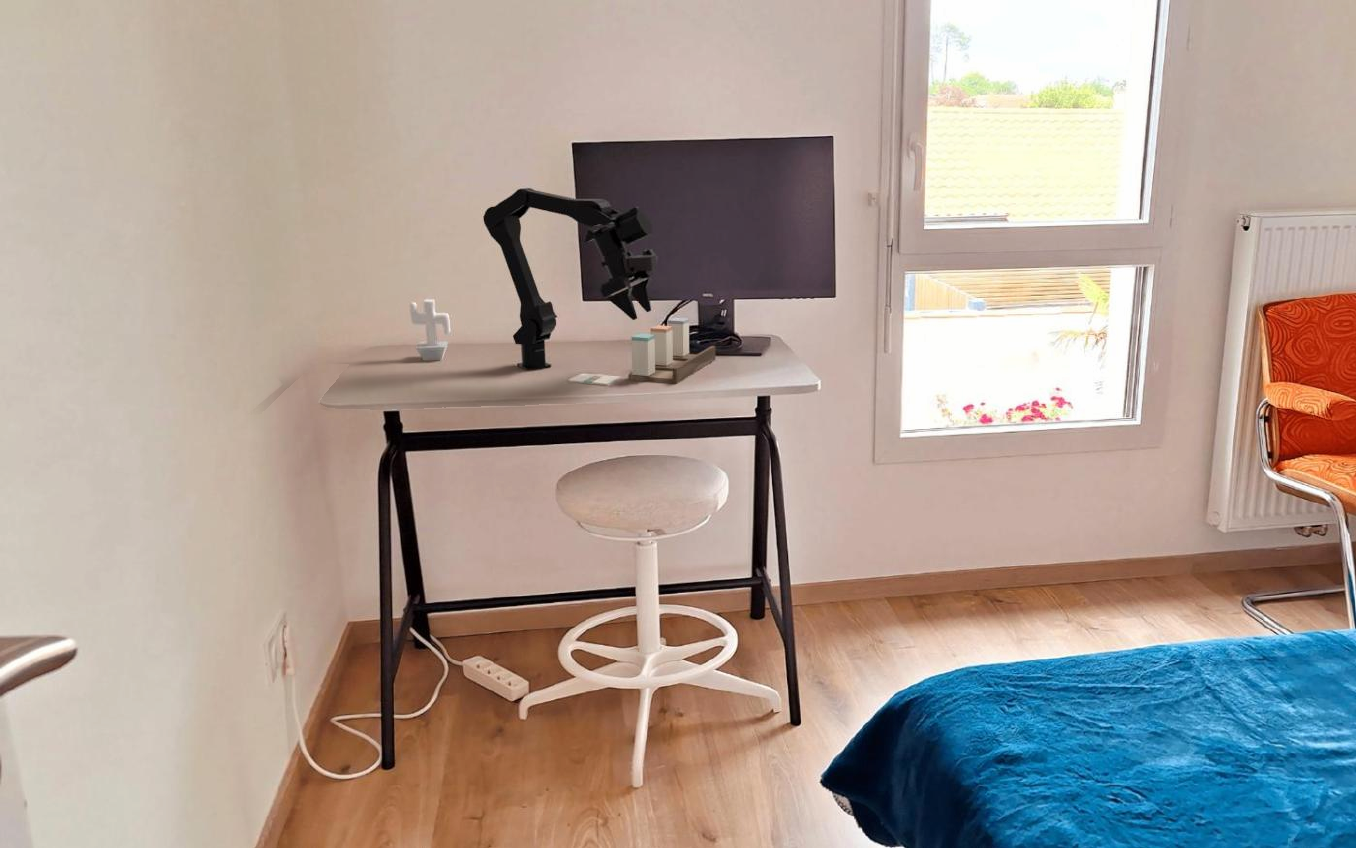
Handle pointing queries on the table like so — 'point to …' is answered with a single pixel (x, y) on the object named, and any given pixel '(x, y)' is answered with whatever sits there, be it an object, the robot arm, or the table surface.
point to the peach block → (663, 344)
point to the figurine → (430, 330)
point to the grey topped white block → (680, 336)
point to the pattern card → (594, 379)
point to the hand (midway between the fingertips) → (642, 315)
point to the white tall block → (643, 354)
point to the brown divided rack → (679, 367)
